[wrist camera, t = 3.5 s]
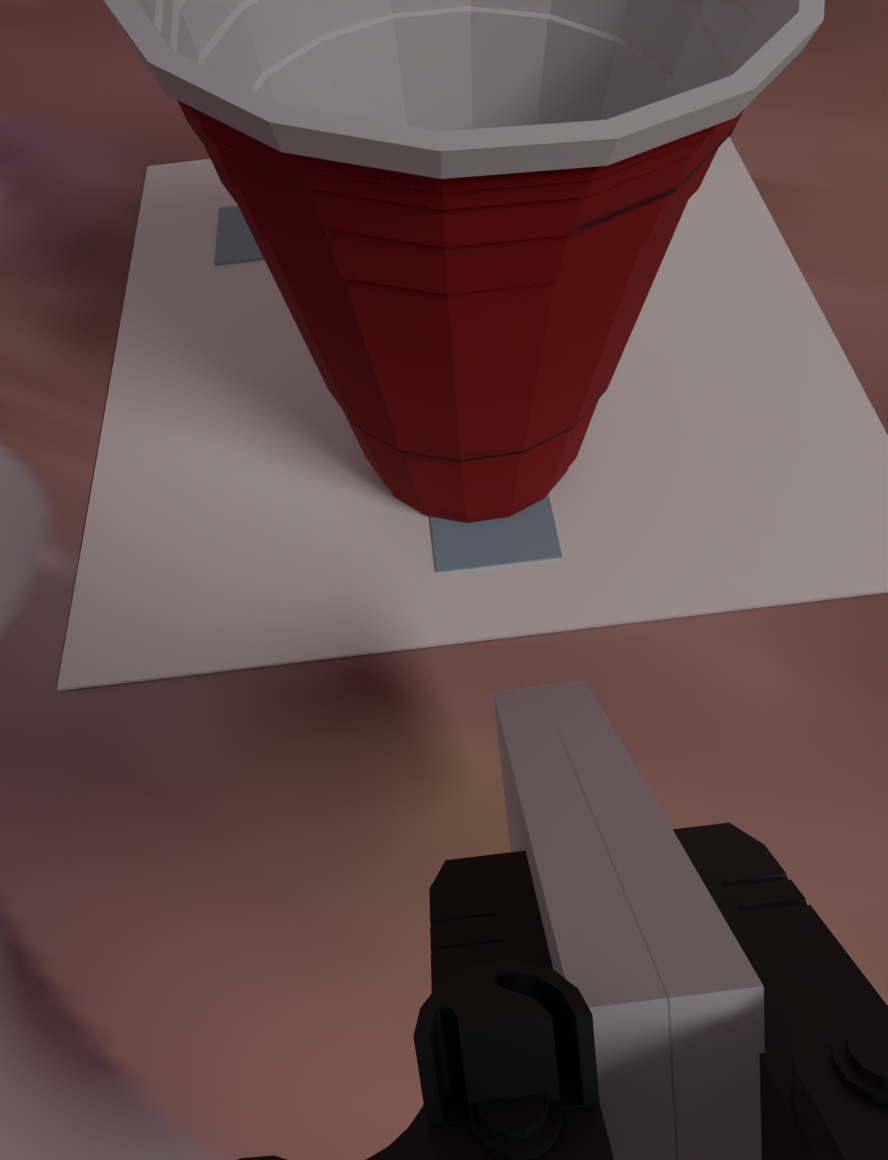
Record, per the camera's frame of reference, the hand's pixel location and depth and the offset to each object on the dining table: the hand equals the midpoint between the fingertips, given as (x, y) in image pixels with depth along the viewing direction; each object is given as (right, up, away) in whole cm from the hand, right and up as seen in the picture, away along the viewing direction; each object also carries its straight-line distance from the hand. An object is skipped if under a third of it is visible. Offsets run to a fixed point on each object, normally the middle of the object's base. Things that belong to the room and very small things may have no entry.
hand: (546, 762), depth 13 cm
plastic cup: (-1, +7, +9) cm, 11 cm away
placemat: (-1, +11, +12) cm, 16 cm away
